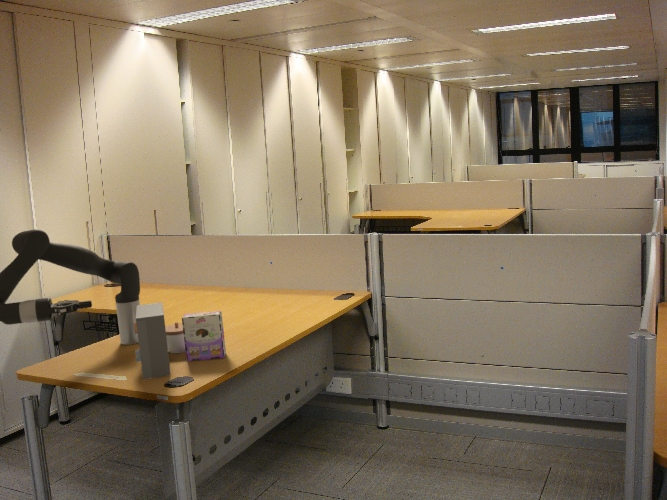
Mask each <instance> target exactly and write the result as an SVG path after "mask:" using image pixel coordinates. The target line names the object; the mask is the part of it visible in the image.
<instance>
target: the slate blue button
mask: <svg viewBox="0 0 667 500" xmlns="http://www.w3.org/2000/svg"><path fill="white" fill-rule="evenodd" d="M135 361H136V363H138V362H139V363H141V358H140V350H139V349H135Z"/></svg>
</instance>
